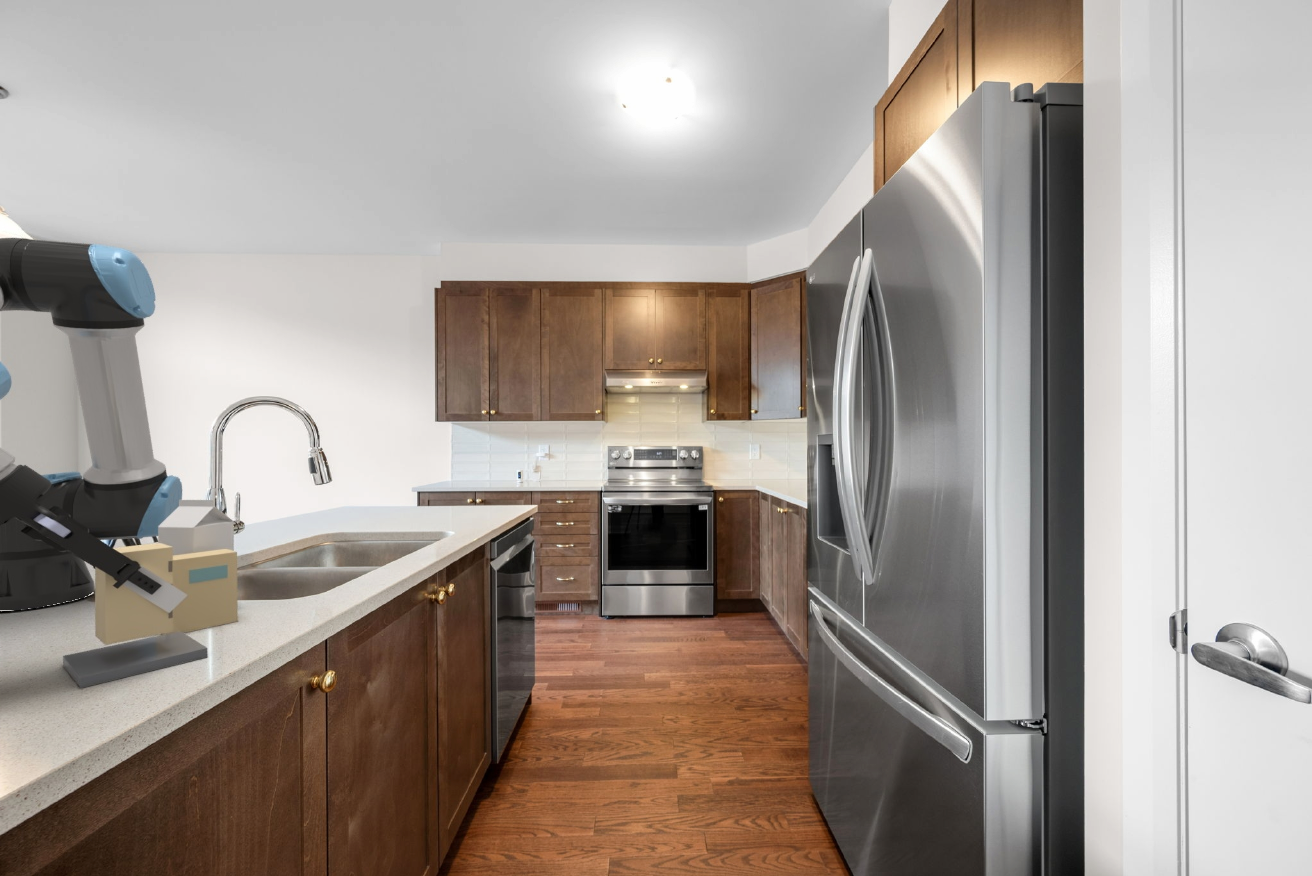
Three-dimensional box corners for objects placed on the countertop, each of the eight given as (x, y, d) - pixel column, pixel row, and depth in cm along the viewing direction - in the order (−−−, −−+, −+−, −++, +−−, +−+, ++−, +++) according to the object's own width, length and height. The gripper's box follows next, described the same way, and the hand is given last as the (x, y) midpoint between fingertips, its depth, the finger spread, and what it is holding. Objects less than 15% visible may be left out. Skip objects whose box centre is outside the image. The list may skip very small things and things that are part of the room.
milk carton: (194, 621, 93) (193, 502, 93) (158, 619, 94) (157, 501, 95) (234, 609, 100) (233, 497, 100) (200, 607, 101) (199, 497, 101)
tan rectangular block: (95, 636, 75) (95, 549, 75) (160, 623, 80) (160, 542, 80) (105, 645, 71) (105, 554, 71) (173, 631, 76) (172, 547, 76)
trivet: (63, 665, 75) (63, 655, 75) (180, 639, 84) (180, 631, 84) (80, 688, 67) (80, 677, 67) (207, 657, 77) (207, 648, 77)
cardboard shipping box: (156, 630, 89) (155, 557, 89) (226, 615, 96) (226, 548, 96) (165, 636, 86) (164, 561, 86) (237, 621, 93) (237, 551, 93)
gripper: (-56, 507, 69) (127, 612, 82) (-47, 517, 58) (165, 638, 71) (10, 461, 74) (175, 568, 86) (31, 461, 62) (217, 585, 75)
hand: (170, 599), depth 78 cm, fingers closed on tan rectangular block, 6 cm apart
